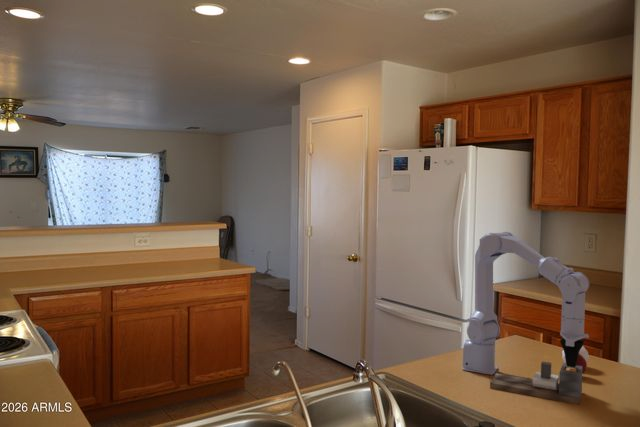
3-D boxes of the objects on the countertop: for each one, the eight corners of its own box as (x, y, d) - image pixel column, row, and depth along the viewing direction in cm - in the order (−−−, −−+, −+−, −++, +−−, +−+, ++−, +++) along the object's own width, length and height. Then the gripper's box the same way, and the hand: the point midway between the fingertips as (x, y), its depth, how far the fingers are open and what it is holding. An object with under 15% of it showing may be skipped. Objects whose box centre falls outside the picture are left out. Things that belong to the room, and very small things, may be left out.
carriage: (532, 387, 149) (533, 364, 148) (536, 380, 155) (536, 358, 154) (555, 391, 146) (556, 368, 145) (558, 383, 152) (559, 361, 151)
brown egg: (565, 383, 146) (565, 369, 146) (566, 380, 149) (566, 366, 149) (575, 384, 145) (576, 371, 145) (576, 382, 147) (576, 368, 147)
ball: (575, 377, 171) (569, 360, 167) (560, 361, 178) (554, 345, 174) (596, 366, 171) (591, 349, 167) (580, 350, 178) (574, 334, 174)
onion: (588, 380, 160) (589, 354, 160) (568, 378, 161) (568, 352, 161) (583, 374, 166) (584, 348, 166) (563, 372, 167) (564, 347, 167)
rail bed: (490, 387, 153) (490, 361, 153) (497, 377, 162) (497, 352, 161) (579, 404, 142) (580, 376, 141) (581, 392, 150) (582, 365, 150)
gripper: (587, 324, 138) (585, 376, 139) (590, 313, 151) (588, 361, 151) (557, 320, 141) (556, 371, 142) (563, 310, 154) (561, 357, 155)
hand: (571, 366), depth 147 cm, fingers closed
